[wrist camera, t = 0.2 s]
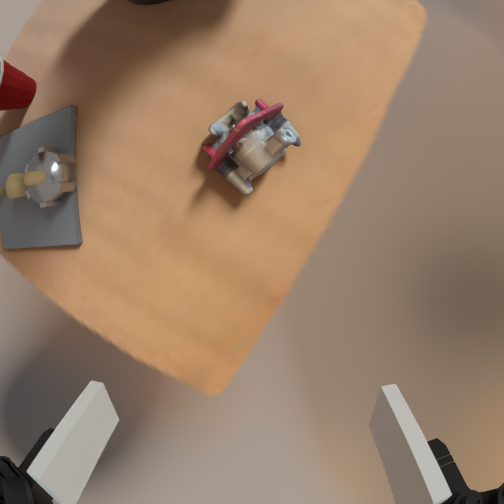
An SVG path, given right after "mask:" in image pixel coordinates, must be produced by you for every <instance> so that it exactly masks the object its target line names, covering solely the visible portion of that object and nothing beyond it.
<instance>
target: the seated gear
mask: <svg viewBox="0 0 504 504" xmlns="http://www.w3.org/2000/svg"><path fill="white" fill-rule="evenodd" d="M75 162H76V161H75V159H74V157H73V155H72V154H65V153H61V152H60V148H54V147H42V148H39V149H38V154H36V155H35V156H34V157H33V159H32V160H31V162H30V163H27V164H26V168H25V171H24V172H25V173H26V172H27V171H44V173H45V181H44V183H43V184H37V185H28V186H27V191H26V192H25V193H26V195H27V198H28V200H29V199H33V200H34V201H35V202H37V203H40V208H42V207H48V206H53V205H58V204H62V199H63V198H64V197H66V196H67V194H68V193H69V192H70V191H74V189H75V186H76V183H77V182H75V181H74V167H73V164H74V163H75Z"/></svg>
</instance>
